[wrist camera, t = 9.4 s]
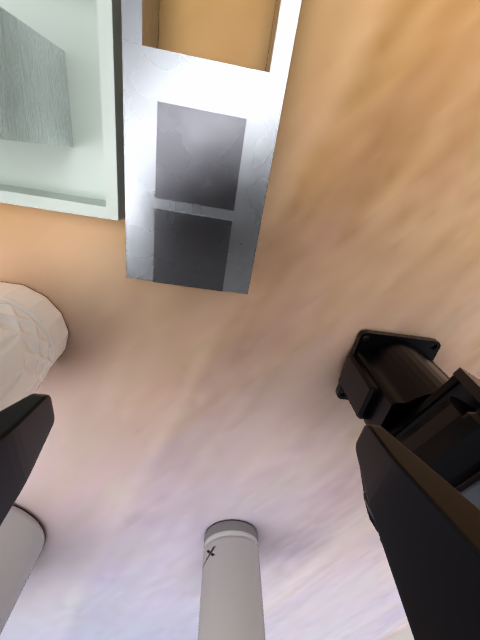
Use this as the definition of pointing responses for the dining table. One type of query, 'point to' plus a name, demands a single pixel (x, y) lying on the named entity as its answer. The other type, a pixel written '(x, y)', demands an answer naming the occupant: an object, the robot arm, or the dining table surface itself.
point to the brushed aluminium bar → (32, 86)
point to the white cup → (27, 341)
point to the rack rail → (197, 153)
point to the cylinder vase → (17, 557)
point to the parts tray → (75, 115)
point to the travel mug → (231, 584)
